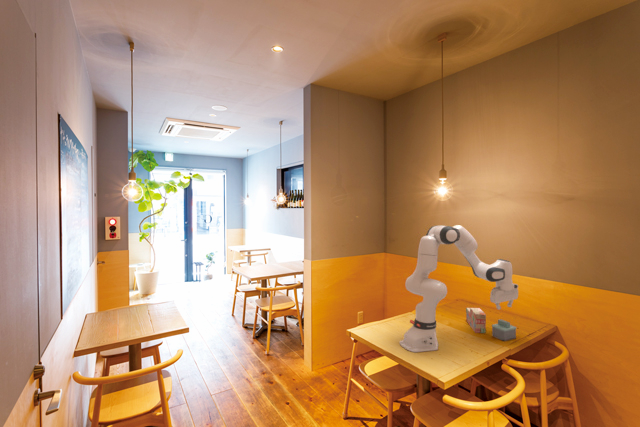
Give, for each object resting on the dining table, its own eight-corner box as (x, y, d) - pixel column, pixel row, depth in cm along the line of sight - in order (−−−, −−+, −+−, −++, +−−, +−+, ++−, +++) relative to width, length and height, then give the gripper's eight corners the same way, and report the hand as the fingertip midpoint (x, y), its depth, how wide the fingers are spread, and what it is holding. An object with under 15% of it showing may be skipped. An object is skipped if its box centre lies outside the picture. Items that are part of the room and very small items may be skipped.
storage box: (504, 341, 186) (504, 331, 186) (492, 336, 193) (492, 326, 193) (515, 338, 189) (515, 328, 189) (503, 333, 197) (503, 324, 197)
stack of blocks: (466, 320, 220) (466, 303, 219) (475, 321, 218) (475, 303, 218) (475, 332, 199) (475, 313, 198) (485, 333, 197) (486, 314, 197)
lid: (504, 333, 185) (504, 324, 185) (491, 328, 193) (491, 320, 193) (516, 330, 189) (516, 322, 189) (503, 325, 197) (503, 317, 197)
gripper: (496, 289, 184) (496, 312, 184) (520, 284, 191) (520, 307, 192) (487, 286, 190) (487, 308, 190) (510, 282, 197) (510, 304, 198)
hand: (504, 307), depth 191 cm, fingers open, 8 cm apart
